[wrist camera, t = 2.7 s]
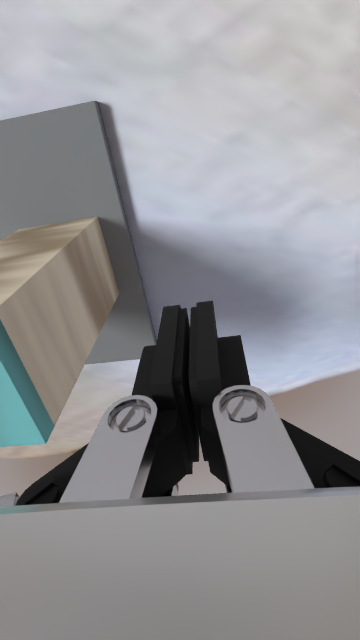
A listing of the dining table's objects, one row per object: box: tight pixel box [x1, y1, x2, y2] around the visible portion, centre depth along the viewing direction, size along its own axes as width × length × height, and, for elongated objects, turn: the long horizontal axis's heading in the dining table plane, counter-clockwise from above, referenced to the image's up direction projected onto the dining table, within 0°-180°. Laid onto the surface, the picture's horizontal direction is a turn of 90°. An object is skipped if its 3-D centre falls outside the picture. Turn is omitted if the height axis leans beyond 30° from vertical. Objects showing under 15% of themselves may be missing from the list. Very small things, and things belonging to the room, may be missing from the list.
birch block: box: [0, 217, 119, 447], centre depth 16 cm, size 5×5×12 cm
